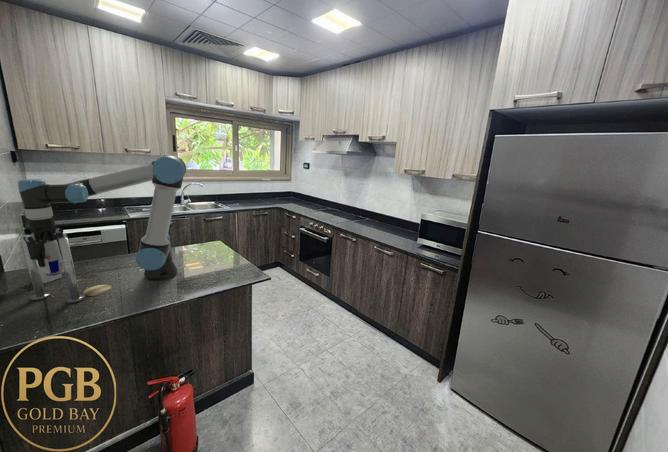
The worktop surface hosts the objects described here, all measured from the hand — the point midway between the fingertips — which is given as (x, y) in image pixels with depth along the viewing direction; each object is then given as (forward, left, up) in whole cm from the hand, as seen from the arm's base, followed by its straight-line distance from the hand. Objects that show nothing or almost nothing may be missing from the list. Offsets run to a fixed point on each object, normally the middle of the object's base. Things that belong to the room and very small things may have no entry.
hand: (53, 270), depth 115 cm
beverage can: (0, 0, -2) cm, 2 cm away
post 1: (+8, 0, -13) cm, 16 cm away
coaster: (-10, -8, -13) cm, 18 cm away
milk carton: (+22, -15, -14) cm, 30 cm away
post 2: (-8, 0, -13) cm, 15 cm away
